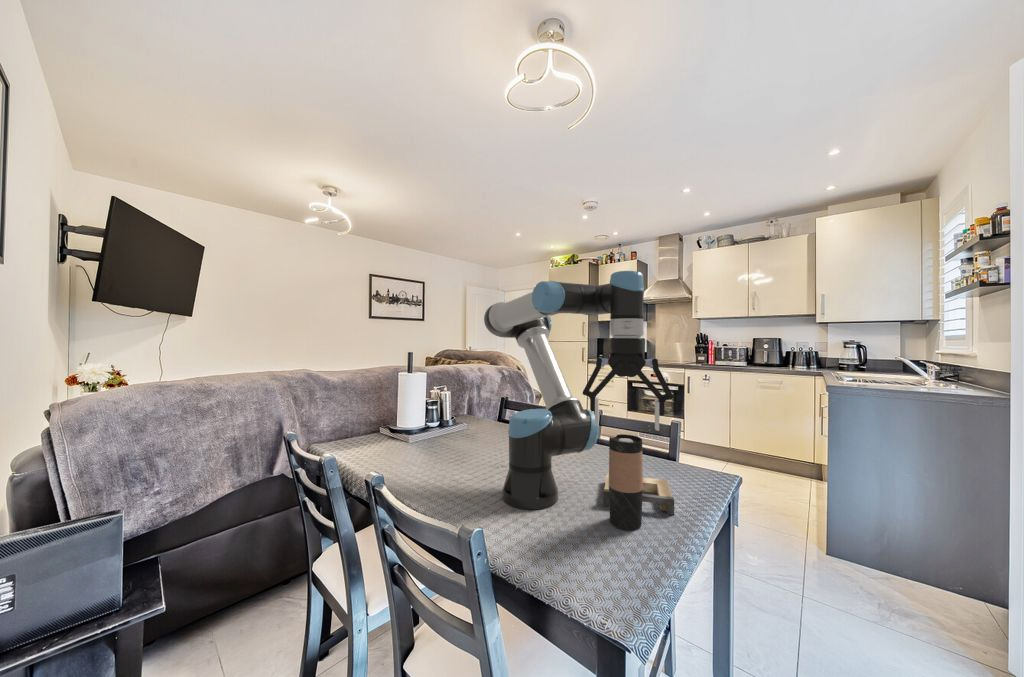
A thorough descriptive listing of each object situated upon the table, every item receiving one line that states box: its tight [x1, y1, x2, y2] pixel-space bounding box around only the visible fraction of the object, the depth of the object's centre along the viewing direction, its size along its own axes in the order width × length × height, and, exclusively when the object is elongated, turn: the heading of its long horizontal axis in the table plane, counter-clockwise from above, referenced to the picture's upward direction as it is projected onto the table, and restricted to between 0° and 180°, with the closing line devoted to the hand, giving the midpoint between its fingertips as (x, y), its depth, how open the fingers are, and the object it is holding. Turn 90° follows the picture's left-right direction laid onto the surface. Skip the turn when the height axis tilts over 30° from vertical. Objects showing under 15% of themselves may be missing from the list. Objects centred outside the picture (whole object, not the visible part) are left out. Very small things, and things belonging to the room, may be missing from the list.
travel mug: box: [608, 434, 644, 532], centre depth 88 cm, size 8×8×20 cm
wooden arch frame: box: [602, 473, 675, 516], centre depth 102 cm, size 17×17×4 cm
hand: (626, 427), depth 88 cm, fingers open, 13 cm apart
